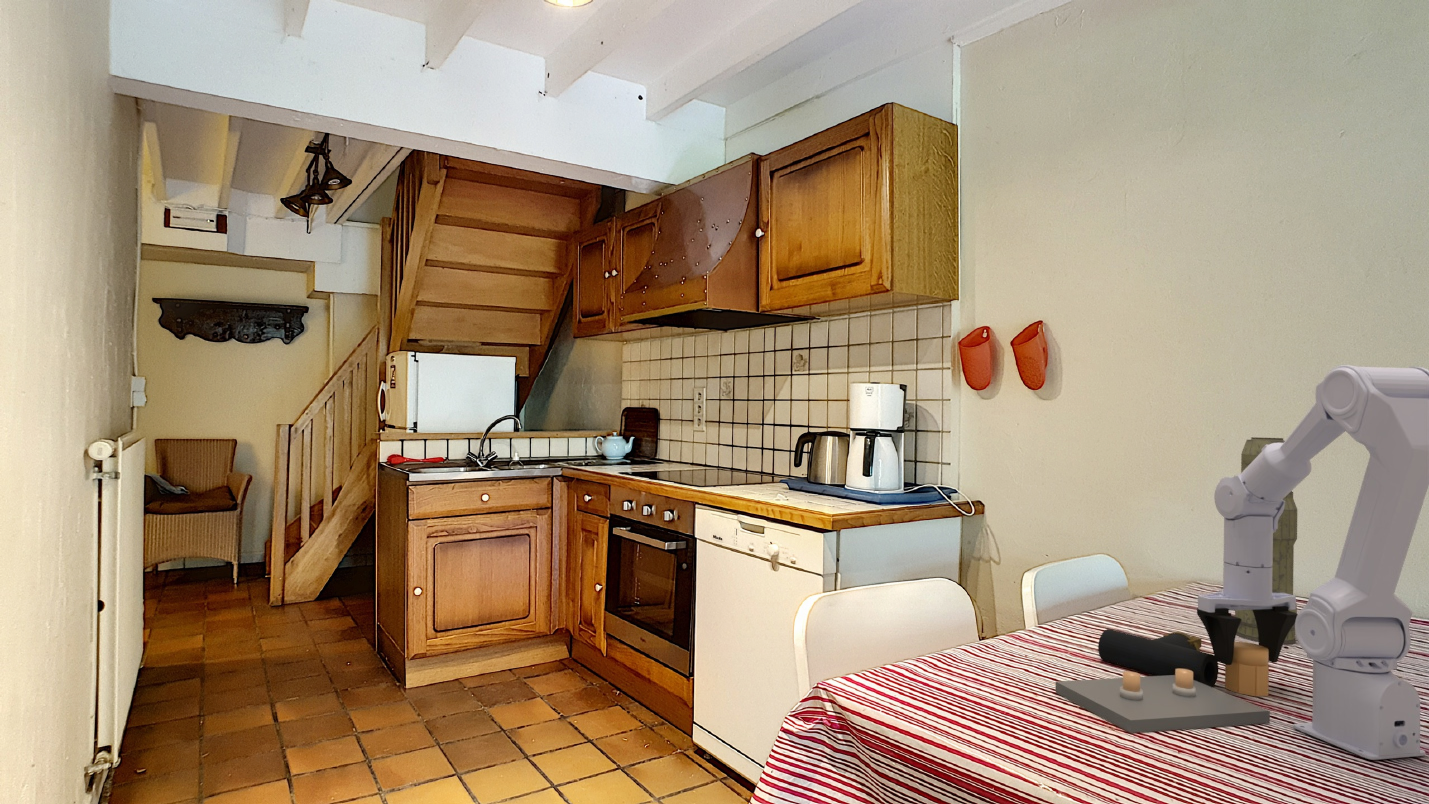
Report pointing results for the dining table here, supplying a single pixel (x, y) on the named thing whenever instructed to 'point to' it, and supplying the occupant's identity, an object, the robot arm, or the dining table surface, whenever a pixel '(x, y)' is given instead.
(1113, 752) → the dining table surface
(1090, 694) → the board
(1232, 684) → the wire cap
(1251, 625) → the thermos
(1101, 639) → the pipe connector
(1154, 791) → the dining table surface
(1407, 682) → the robot arm
